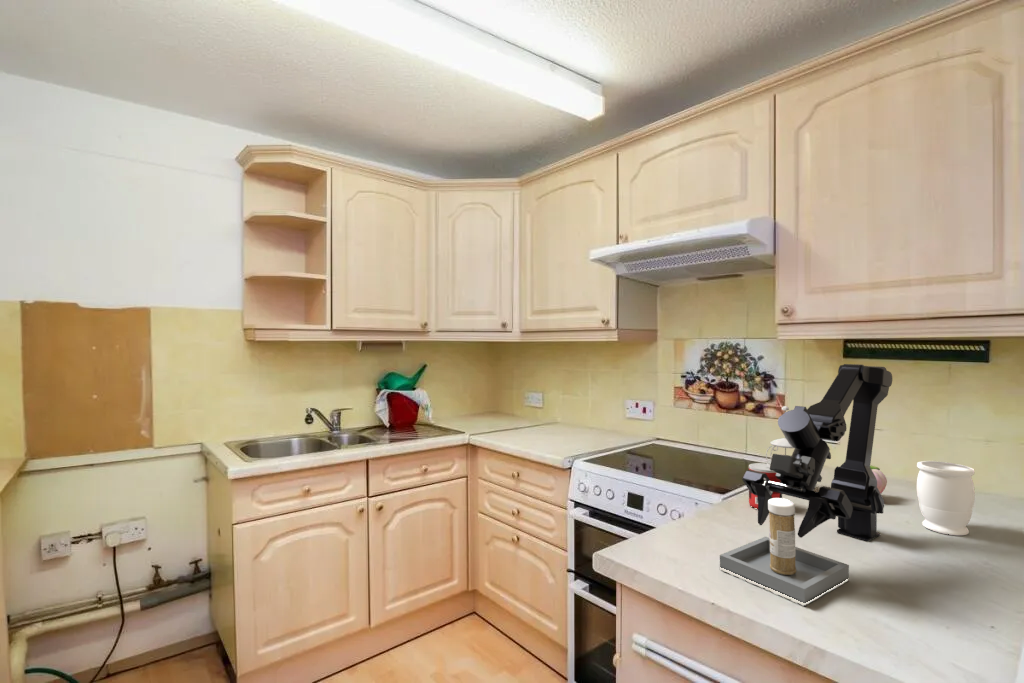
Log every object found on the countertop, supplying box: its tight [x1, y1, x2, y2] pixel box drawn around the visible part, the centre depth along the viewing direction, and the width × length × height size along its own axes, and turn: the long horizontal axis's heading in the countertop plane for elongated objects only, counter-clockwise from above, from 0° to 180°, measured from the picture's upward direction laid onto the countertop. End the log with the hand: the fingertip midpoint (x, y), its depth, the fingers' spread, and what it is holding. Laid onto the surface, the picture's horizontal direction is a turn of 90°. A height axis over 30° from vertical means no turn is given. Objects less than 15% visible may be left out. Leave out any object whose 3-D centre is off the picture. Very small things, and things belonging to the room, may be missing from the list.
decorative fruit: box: [870, 464, 888, 495], centre depth 139 cm, size 9×8×10 cm
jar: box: [916, 460, 976, 536], centre depth 117 cm, size 11×10×15 cm
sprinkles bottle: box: [768, 497, 796, 575], centre depth 95 cm, size 5×5×13 cm
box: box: [719, 536, 850, 603], centre depth 95 cm, size 16×16×3 cm
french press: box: [765, 405, 795, 464], centre depth 149 cm, size 10×12×25 cm
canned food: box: [748, 462, 783, 509], centre depth 133 cm, size 8×8×11 cm
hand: (778, 529), depth 94 cm, fingers open, 7 cm apart
